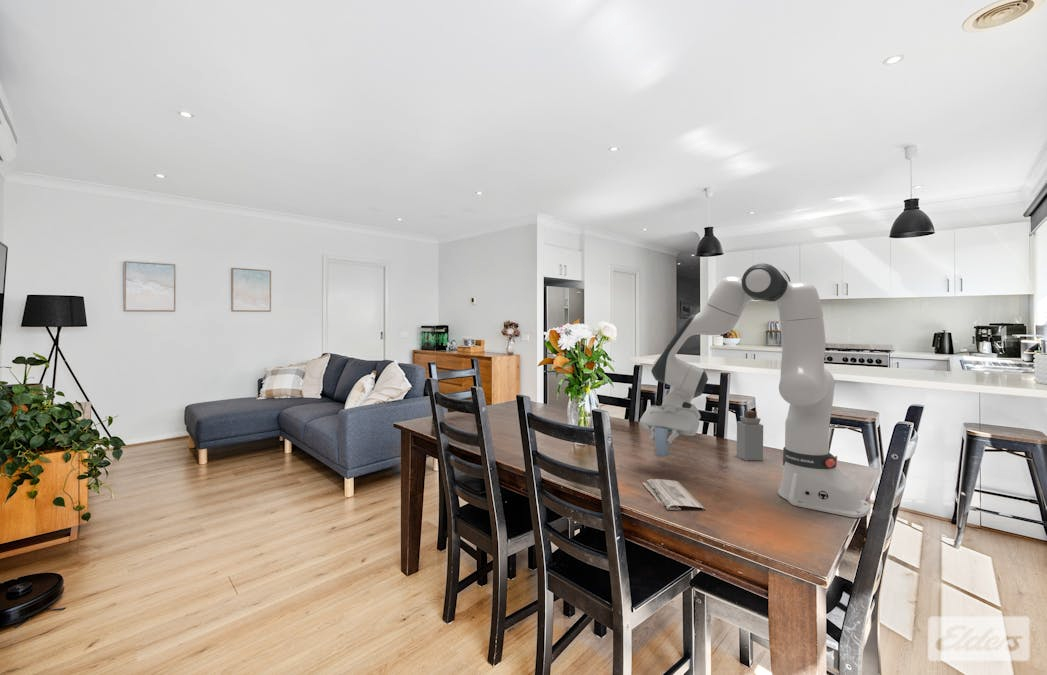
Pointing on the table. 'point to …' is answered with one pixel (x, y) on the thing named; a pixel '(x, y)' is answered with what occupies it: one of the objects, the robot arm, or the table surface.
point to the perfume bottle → (750, 437)
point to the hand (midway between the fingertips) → (660, 440)
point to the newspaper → (671, 494)
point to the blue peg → (661, 441)
